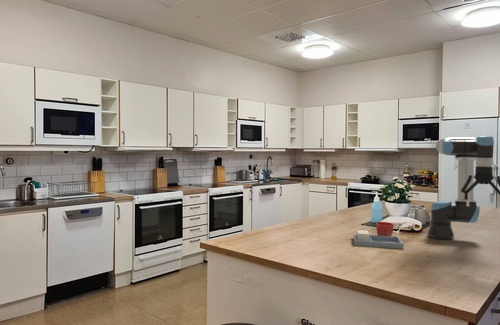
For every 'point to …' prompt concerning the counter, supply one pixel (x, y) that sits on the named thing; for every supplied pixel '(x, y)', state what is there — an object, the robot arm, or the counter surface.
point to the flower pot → (384, 228)
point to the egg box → (362, 235)
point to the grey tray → (380, 241)
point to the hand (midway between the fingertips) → (482, 207)
